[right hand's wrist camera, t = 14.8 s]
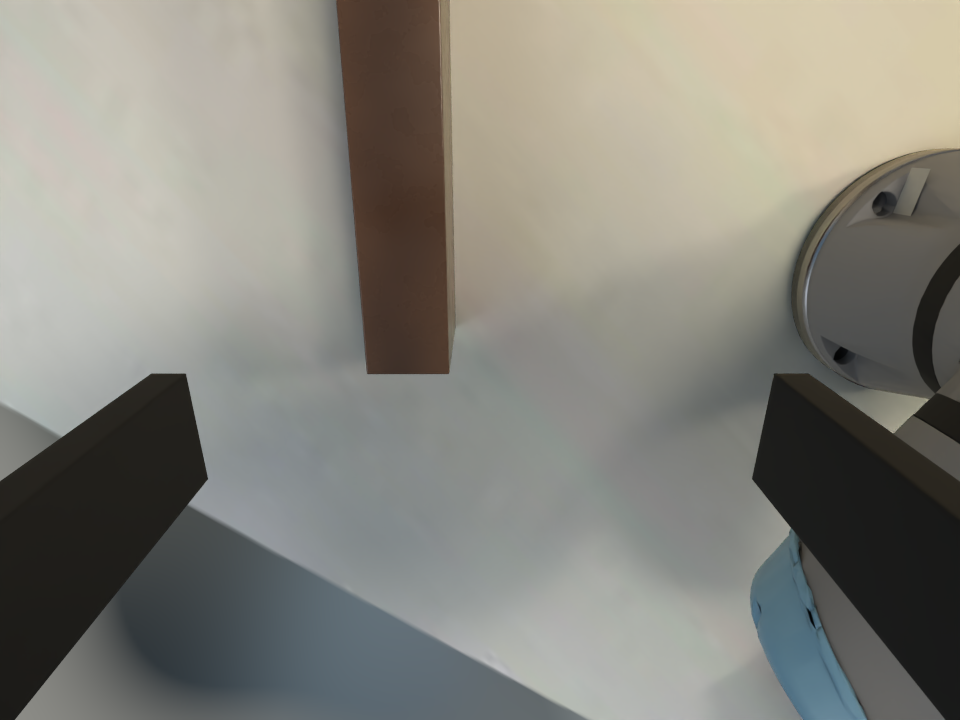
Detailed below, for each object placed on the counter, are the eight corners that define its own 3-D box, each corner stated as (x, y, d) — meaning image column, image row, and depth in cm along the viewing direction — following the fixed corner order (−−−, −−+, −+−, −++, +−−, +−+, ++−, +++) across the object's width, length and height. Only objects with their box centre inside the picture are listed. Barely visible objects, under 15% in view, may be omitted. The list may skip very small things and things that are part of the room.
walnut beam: (441, -449, 25) (424, -704, 17) (455, 328, 38) (449, 374, 30) (338, -448, 25) (277, -703, 17) (389, 328, 38) (366, 374, 30)
